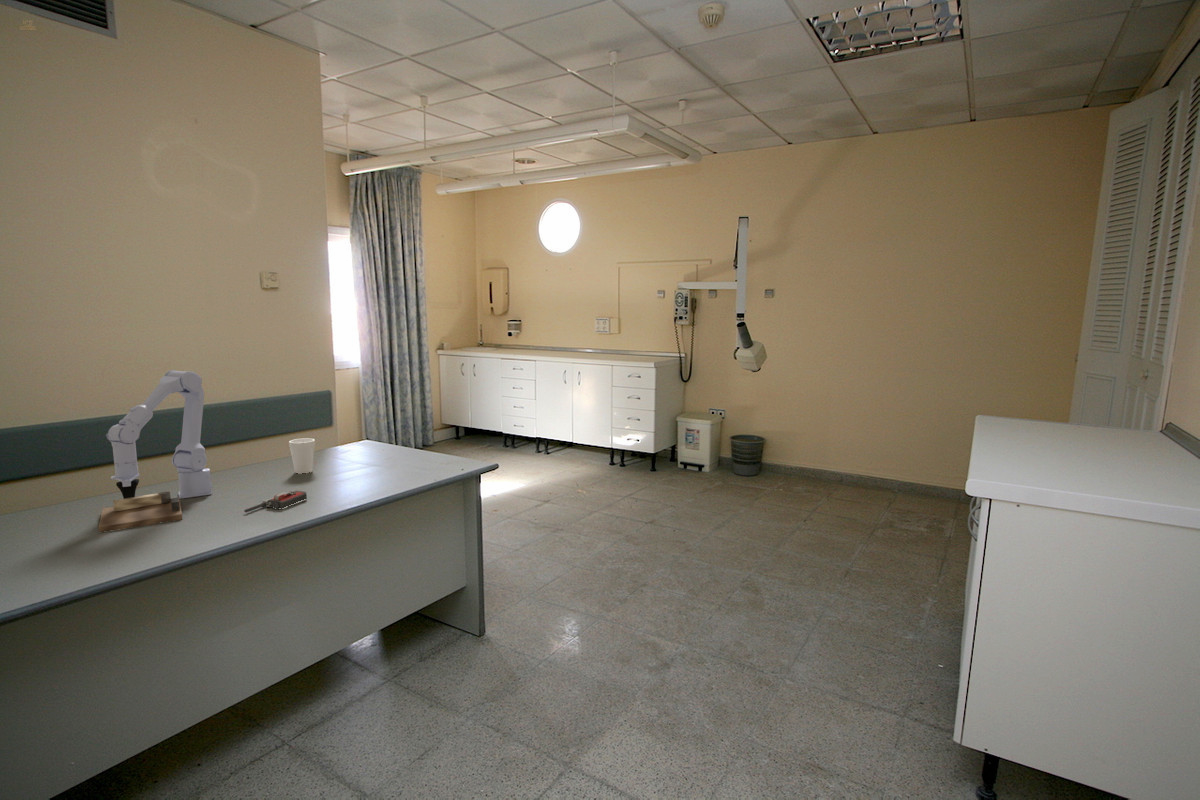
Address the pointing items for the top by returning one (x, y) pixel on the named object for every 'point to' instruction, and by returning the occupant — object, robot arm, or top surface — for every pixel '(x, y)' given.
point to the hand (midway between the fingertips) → (129, 502)
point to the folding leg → (141, 501)
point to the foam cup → (302, 454)
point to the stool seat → (140, 516)
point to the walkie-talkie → (281, 500)
